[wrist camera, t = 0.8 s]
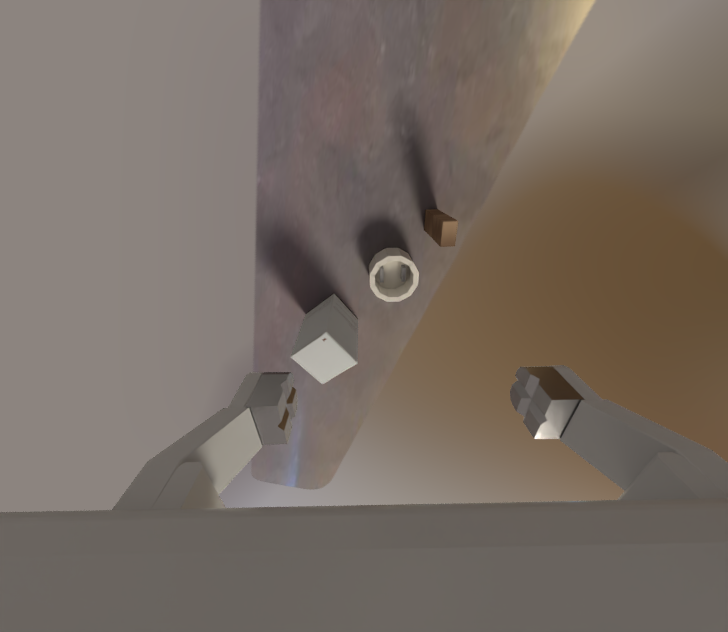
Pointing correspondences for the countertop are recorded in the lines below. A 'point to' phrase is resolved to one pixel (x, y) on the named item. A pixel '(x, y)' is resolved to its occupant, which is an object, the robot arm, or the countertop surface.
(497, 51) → the countertop surface
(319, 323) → the supplement box
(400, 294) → the faceted white cup
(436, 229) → the brown rectangular block
